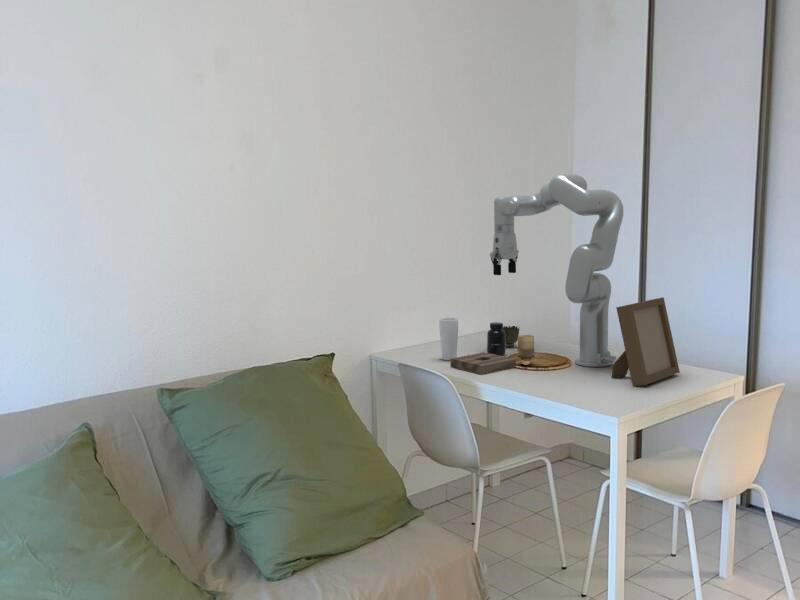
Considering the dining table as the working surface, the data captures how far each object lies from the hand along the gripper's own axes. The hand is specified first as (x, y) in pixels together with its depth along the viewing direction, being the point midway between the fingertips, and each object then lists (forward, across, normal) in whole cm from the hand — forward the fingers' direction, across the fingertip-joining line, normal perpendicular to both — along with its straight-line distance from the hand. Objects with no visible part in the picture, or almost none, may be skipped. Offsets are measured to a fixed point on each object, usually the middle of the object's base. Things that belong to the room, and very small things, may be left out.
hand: (504, 273), depth 293 cm
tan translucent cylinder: (+29, -20, -23) cm, 42 cm away
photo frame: (+30, -15, -63) cm, 71 cm away
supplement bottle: (+29, -13, -5) cm, 32 cm away
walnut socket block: (+29, -32, -14) cm, 46 cm away
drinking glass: (+29, -29, +4) cm, 42 cm away
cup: (+29, +2, 0) cm, 29 cm away
